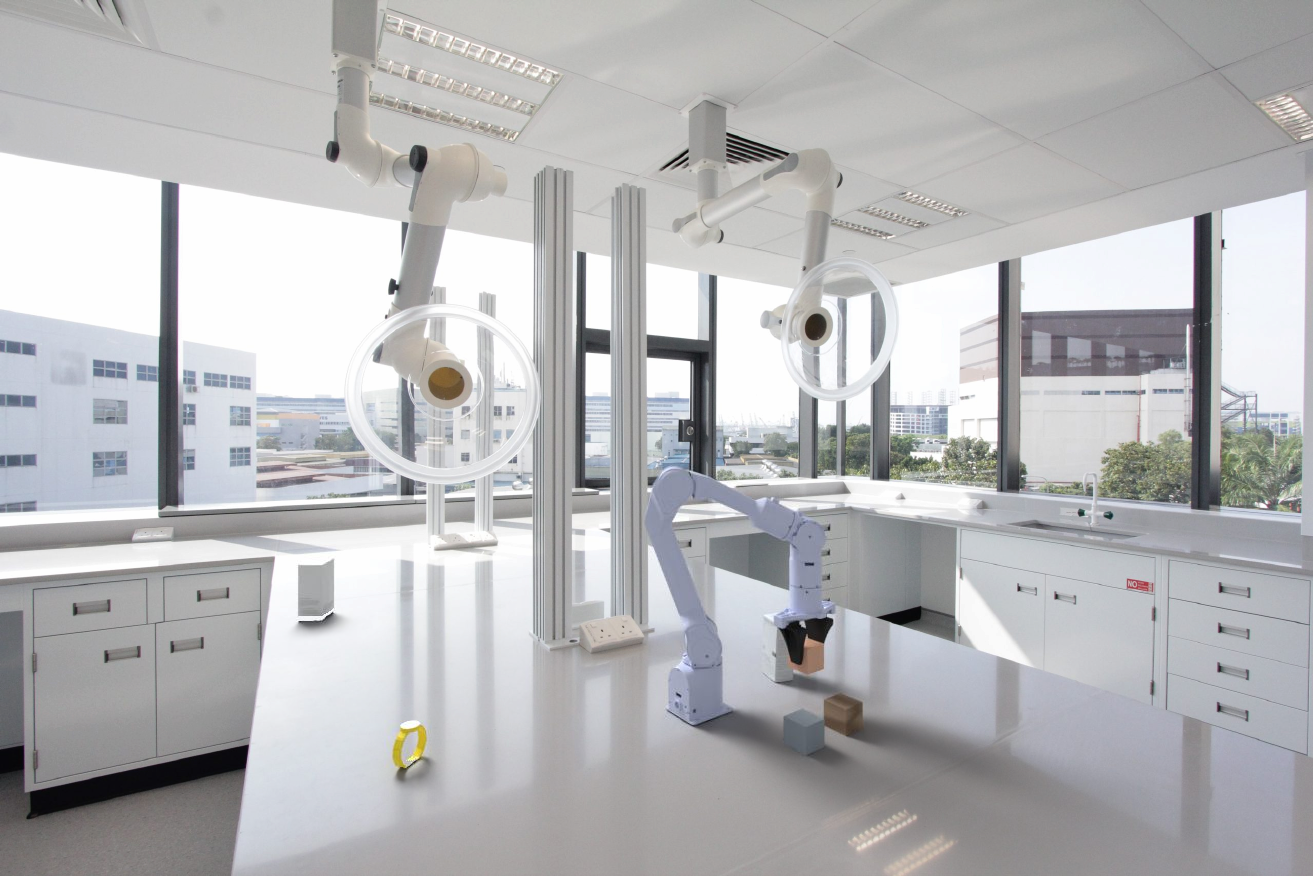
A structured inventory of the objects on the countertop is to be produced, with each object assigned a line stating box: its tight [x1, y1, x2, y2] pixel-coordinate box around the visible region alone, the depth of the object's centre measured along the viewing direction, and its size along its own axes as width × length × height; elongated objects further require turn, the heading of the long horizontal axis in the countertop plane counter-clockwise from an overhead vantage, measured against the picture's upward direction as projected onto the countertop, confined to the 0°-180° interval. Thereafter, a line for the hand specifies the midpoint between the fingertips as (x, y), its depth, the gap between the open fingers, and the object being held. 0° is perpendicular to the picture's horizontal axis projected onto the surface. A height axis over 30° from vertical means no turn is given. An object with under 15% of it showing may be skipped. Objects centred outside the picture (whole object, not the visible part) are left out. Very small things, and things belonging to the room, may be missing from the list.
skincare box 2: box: [761, 612, 794, 683], centre depth 122 cm, size 6×4×12 cm
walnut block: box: [823, 692, 864, 737], centre depth 101 cm, size 4×4×4 cm
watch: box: [391, 720, 428, 769], centre depth 91 cm, size 6×3×6 cm, turn 163°
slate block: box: [783, 708, 826, 756], centre depth 95 cm, size 4×4×4 cm
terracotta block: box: [788, 637, 825, 676], centre depth 108 cm, size 4×4×4 cm
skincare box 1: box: [297, 557, 335, 617], centre depth 163 cm, size 8×7×16 cm
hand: (805, 659), depth 108 cm, fingers closed on terracotta block, 4 cm apart
